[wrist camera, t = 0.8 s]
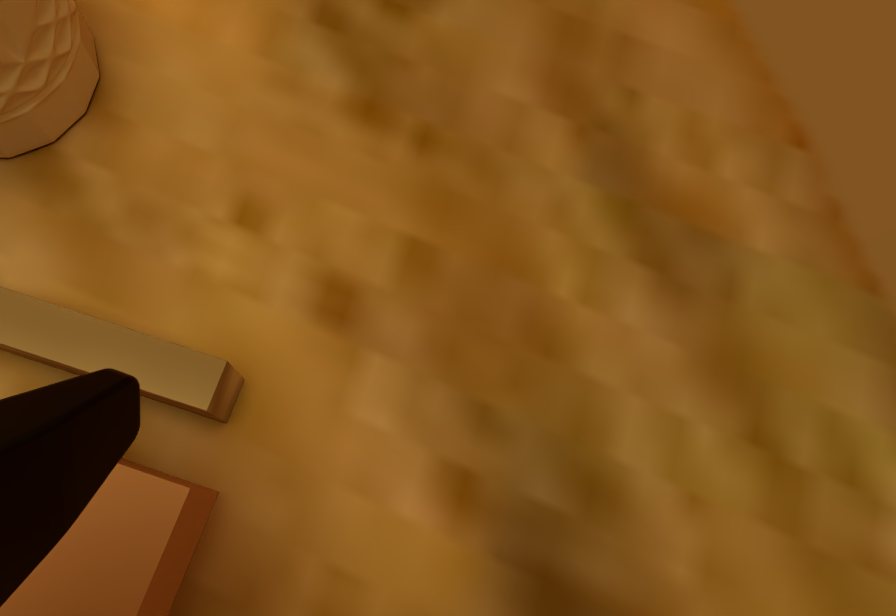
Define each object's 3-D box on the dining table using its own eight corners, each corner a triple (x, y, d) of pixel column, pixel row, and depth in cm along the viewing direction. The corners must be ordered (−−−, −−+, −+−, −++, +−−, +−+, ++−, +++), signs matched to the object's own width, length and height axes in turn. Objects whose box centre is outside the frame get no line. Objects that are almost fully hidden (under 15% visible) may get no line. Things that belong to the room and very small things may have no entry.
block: (137, 692, 21) (86, 733, 17) (-92, 615, 21) (-194, 639, 17) (219, 491, 23) (189, 488, 19) (8, 419, 23) (-64, 401, 19)
